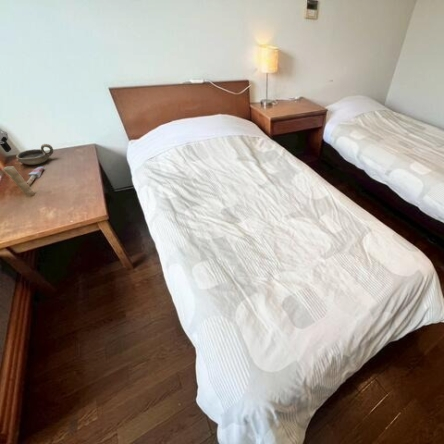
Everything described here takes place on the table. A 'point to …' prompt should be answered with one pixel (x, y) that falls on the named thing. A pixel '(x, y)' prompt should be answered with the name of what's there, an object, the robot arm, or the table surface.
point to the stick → (19, 181)
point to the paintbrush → (34, 175)
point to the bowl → (35, 155)
